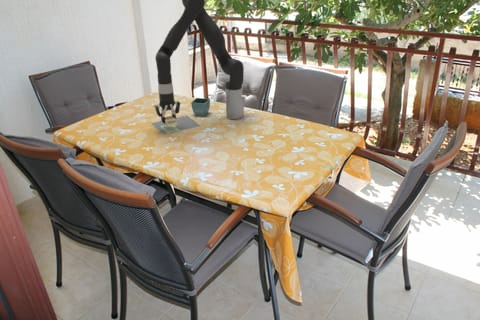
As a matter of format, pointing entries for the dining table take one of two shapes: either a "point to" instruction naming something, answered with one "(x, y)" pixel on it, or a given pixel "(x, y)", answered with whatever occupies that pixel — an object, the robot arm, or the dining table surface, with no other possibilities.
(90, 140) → the dining table surface
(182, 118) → the mat
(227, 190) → the dining table surface
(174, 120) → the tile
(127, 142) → the dining table surface
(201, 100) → the flower pot
